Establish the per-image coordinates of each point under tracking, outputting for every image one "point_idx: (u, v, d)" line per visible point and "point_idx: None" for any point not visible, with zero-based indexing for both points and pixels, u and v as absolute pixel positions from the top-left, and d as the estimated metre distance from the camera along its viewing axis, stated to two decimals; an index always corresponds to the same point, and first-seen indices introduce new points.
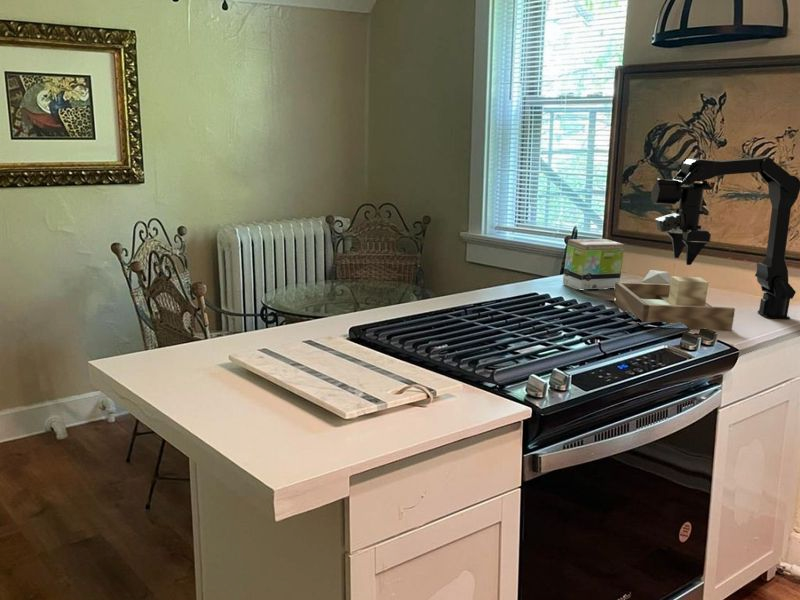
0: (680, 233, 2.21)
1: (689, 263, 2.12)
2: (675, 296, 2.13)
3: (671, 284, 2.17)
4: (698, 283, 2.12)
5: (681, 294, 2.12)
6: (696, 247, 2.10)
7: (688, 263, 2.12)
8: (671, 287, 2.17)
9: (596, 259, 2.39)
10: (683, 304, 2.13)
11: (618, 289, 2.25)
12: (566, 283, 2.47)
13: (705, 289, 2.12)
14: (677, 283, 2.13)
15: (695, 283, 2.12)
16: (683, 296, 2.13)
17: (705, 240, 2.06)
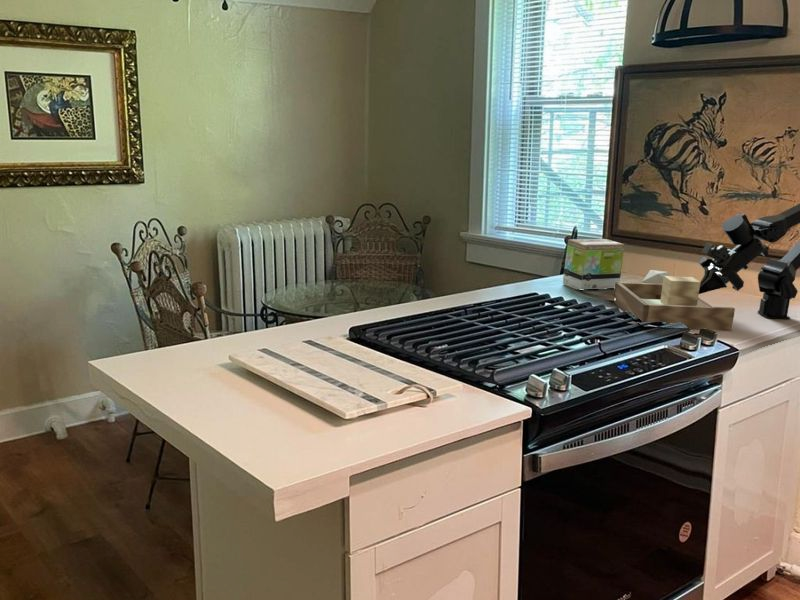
0: None
1: None
2: (667, 296, 2.14)
3: (663, 284, 2.17)
4: (690, 282, 2.12)
5: (673, 294, 2.12)
6: (714, 284, 2.13)
7: None
8: (663, 287, 2.17)
9: (596, 259, 2.39)
10: (675, 304, 2.13)
11: (618, 289, 2.25)
12: (566, 283, 2.47)
13: (697, 289, 2.12)
14: (669, 283, 2.13)
15: (687, 283, 2.12)
16: (675, 296, 2.13)
17: (736, 286, 2.06)
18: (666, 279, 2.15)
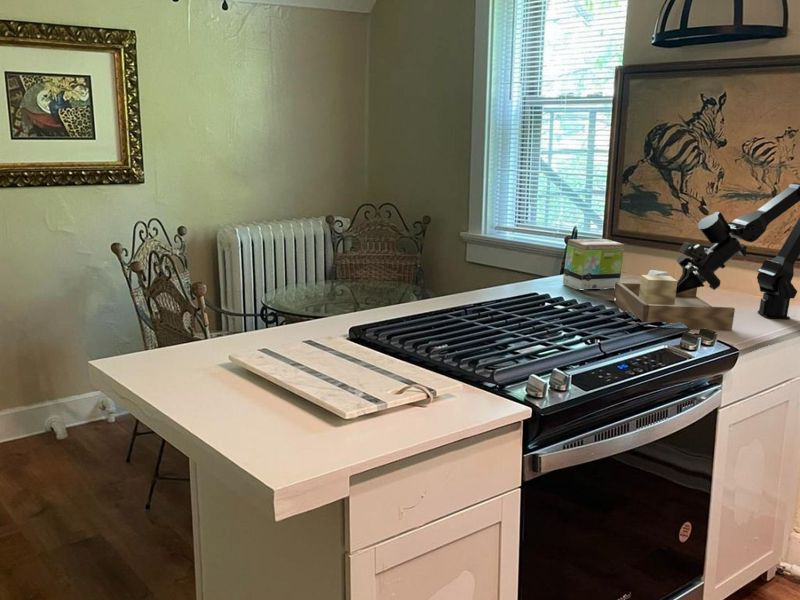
0: None
1: None
2: (645, 295, 2.14)
3: (641, 283, 2.17)
4: (667, 281, 2.12)
5: (650, 293, 2.12)
6: (692, 283, 2.13)
7: None
8: (641, 286, 2.17)
9: (596, 259, 2.39)
10: (652, 302, 2.13)
11: (618, 289, 2.25)
12: (566, 283, 2.47)
13: (674, 288, 2.12)
14: (646, 281, 2.13)
15: (664, 281, 2.12)
16: (652, 295, 2.13)
17: (712, 286, 2.05)
18: (643, 278, 2.15)
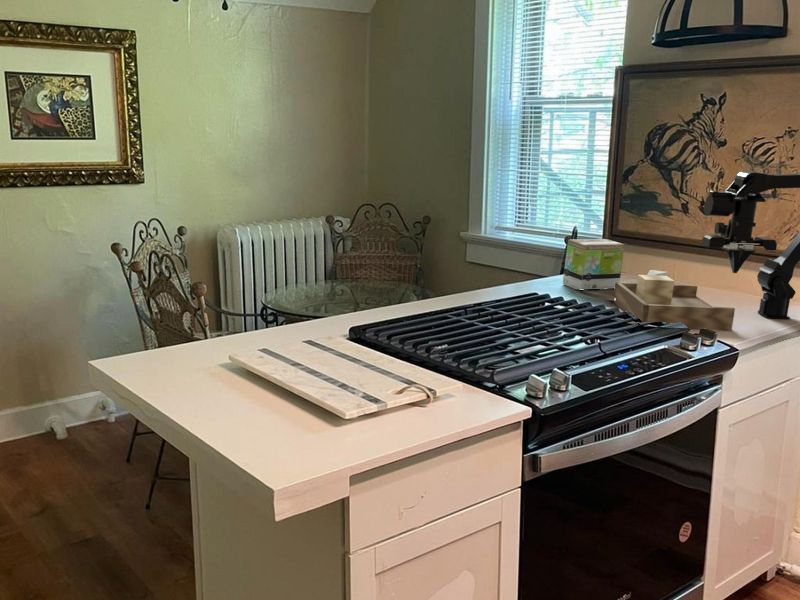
0: (742, 248, 2.16)
1: (733, 271, 2.18)
2: (641, 295, 2.14)
3: (638, 282, 2.17)
4: (663, 281, 2.12)
5: (647, 292, 2.12)
6: None
7: (732, 271, 2.18)
8: (638, 285, 2.17)
9: (596, 259, 2.39)
10: (649, 302, 2.13)
11: (618, 289, 2.25)
12: (566, 283, 2.47)
13: (671, 287, 2.12)
14: (643, 281, 2.13)
15: (661, 281, 2.12)
16: (649, 295, 2.13)
17: (707, 245, 2.15)
18: (640, 278, 2.15)
